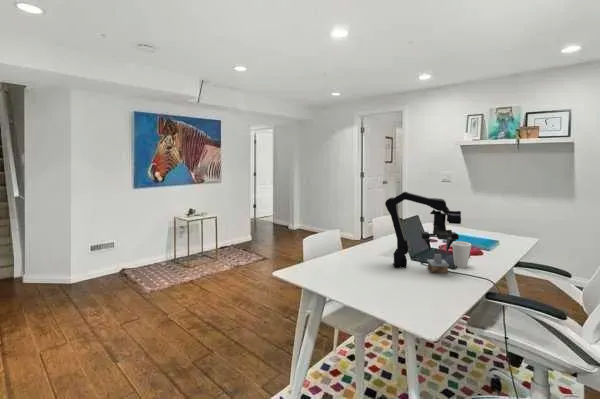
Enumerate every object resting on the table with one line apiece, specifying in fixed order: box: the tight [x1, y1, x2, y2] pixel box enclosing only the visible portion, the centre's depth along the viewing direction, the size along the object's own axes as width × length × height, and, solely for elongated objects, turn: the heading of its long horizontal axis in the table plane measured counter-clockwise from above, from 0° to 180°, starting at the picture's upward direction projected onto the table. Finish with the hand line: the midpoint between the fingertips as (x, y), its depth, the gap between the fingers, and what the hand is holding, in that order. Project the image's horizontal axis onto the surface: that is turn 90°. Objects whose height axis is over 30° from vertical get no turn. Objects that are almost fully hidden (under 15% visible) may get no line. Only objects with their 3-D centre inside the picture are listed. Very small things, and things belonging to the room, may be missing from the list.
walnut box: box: [427, 262, 449, 275], centre depth 181 cm, size 8×8×4 cm
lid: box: [426, 253, 450, 268], centre depth 181 cm, size 9×9×5 cm
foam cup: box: [451, 240, 472, 269], centre depth 188 cm, size 10×9×13 cm
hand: (438, 251), depth 180 cm, fingers open, 9 cm apart
